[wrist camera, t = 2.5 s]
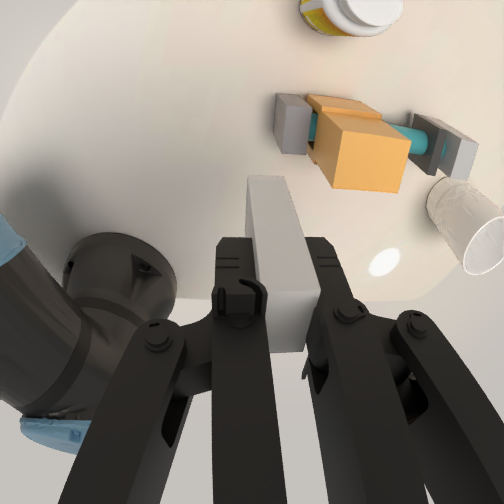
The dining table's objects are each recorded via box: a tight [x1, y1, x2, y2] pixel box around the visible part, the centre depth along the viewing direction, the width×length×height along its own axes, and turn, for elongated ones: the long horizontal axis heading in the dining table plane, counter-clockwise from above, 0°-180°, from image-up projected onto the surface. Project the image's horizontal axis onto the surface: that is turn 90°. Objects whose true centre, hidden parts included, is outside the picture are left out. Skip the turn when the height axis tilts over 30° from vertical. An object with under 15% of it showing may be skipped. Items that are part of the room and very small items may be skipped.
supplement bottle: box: [300, 0, 403, 37], centre depth 17 cm, size 6×6×10 cm
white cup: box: [426, 177, 504, 275], centre depth 31 cm, size 8×8×10 cm
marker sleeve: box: [307, 94, 411, 193], centre depth 23 cm, size 5×5×10 cm
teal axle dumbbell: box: [273, 93, 479, 181], centre depth 26 cm, size 18×5×7 cm, turn 87°
